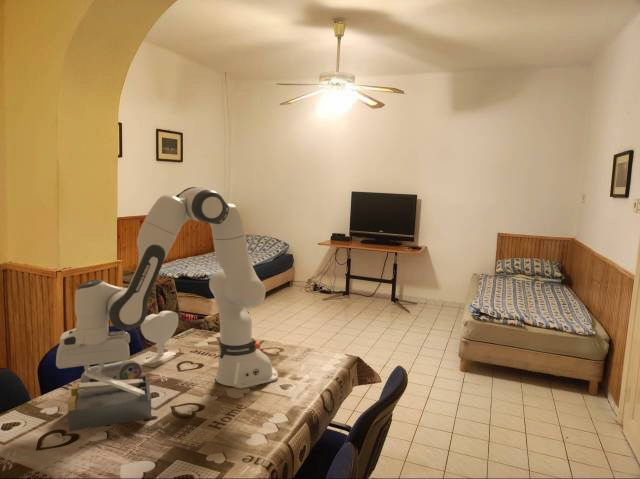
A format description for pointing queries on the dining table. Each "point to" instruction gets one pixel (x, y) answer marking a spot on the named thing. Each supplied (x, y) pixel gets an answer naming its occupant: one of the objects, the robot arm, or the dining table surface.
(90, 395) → the grey boxy piece
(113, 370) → the game controller
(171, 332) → the heart sculpture
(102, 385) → the strap far
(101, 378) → the strap near
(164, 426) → the dining table surface
